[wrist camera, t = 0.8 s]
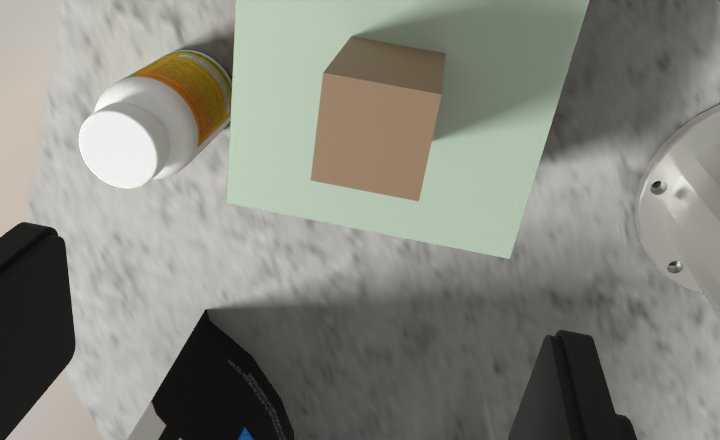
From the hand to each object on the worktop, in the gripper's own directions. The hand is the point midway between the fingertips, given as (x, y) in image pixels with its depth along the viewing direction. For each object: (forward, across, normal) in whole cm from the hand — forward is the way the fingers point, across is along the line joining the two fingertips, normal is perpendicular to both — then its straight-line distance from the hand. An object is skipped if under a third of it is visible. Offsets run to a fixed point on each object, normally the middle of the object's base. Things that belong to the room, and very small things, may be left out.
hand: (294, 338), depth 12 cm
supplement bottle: (+26, +12, +5) cm, 29 cm away
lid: (+18, 0, 0) cm, 18 cm away
